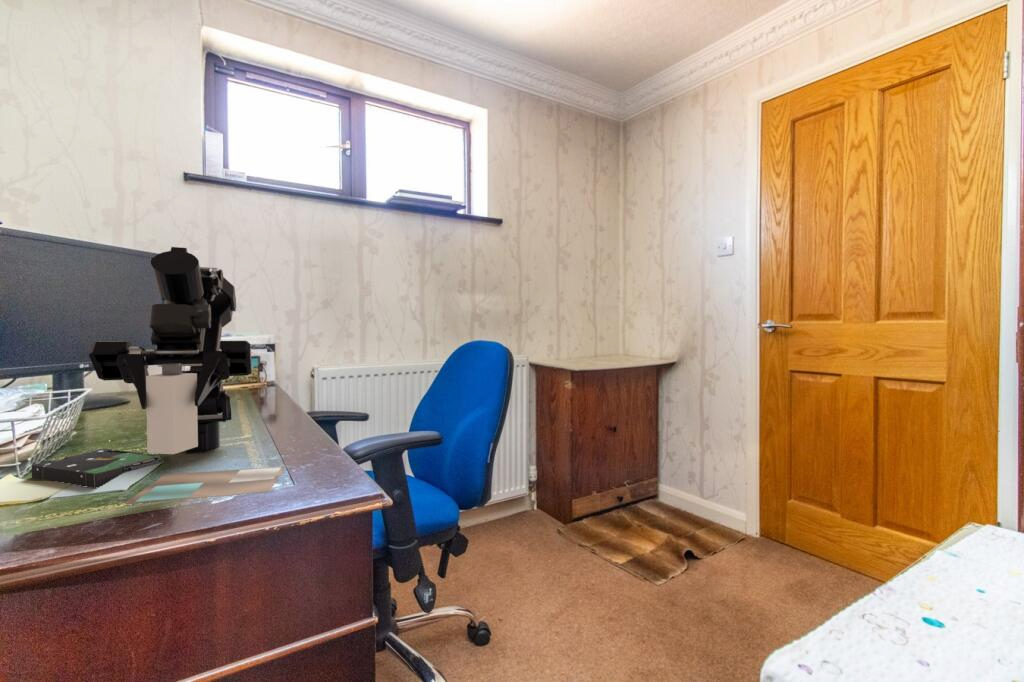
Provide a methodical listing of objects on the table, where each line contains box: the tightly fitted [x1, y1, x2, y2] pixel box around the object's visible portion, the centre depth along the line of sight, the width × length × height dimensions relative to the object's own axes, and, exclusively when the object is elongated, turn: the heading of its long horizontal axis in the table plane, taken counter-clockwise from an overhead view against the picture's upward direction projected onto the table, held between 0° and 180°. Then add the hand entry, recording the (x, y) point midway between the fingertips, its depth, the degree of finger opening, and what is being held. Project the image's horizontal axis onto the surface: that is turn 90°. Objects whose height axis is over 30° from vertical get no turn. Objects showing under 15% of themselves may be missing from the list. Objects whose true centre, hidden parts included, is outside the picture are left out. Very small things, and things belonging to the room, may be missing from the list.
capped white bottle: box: [146, 363, 198, 455], centre depth 63 cm, size 4×4×12 cm
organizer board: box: [124, 465, 286, 505], centre depth 67 cm, size 12×17×1 cm
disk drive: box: [31, 448, 164, 489], centre depth 75 cm, size 10×3×15 cm
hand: (170, 405), depth 62 cm, fingers closed on capped white bottle, 5 cm apart
